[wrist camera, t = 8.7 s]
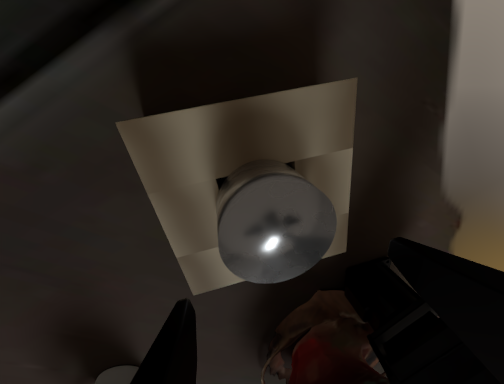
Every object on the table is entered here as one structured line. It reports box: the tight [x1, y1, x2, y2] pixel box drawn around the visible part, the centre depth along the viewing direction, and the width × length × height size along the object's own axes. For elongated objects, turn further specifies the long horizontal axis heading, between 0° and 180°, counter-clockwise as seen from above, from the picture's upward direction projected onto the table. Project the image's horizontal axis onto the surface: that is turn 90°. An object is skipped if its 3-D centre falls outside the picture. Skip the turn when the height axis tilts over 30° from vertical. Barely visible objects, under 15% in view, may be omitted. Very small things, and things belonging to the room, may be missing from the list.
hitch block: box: [116, 78, 357, 295], centre depth 16 cm, size 14×14×5 cm
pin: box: [216, 159, 337, 284], centre depth 15 cm, size 7×7×9 cm
